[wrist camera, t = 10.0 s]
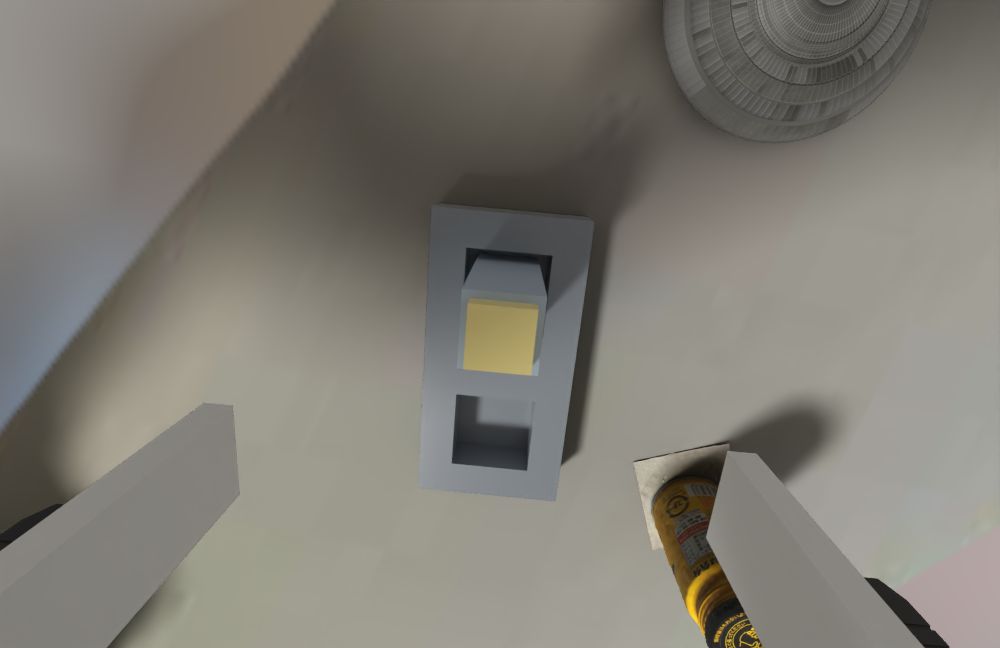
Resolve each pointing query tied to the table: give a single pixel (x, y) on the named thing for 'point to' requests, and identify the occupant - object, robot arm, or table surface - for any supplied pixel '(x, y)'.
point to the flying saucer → (787, 60)
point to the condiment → (694, 539)
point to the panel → (490, 395)
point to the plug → (502, 315)
